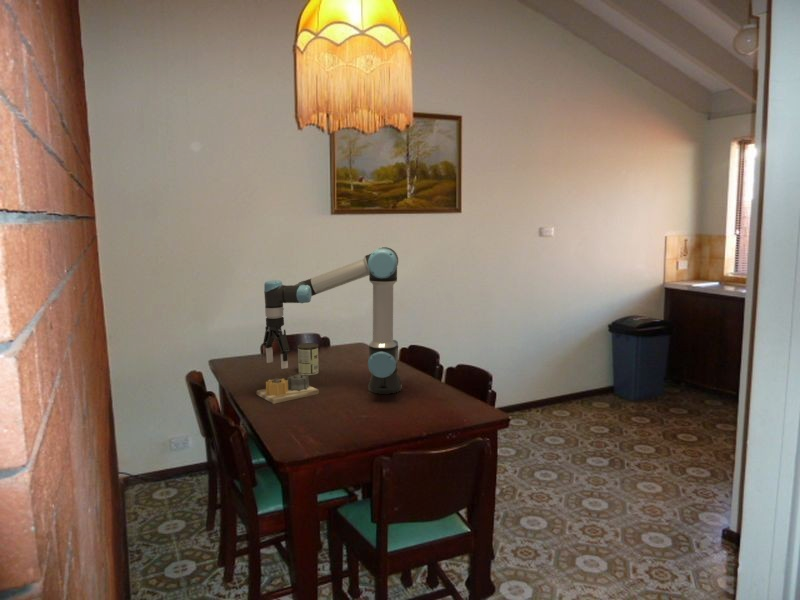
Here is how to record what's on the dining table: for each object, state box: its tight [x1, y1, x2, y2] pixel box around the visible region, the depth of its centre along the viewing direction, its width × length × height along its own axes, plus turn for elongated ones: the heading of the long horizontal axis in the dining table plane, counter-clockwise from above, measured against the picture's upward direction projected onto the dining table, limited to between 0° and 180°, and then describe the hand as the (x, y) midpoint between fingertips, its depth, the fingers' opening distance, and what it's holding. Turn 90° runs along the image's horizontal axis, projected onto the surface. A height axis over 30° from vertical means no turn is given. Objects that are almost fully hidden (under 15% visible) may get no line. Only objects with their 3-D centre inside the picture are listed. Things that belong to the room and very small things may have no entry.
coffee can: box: [297, 342, 320, 376], centre depth 289 cm, size 10×10×14 cm
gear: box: [265, 378, 288, 396], centre depth 252 cm, size 9×9×5 cm
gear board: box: [256, 373, 320, 405], centre depth 255 cm, size 16×22×8 cm
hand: (277, 365), depth 250 cm, fingers open, 13 cm apart
